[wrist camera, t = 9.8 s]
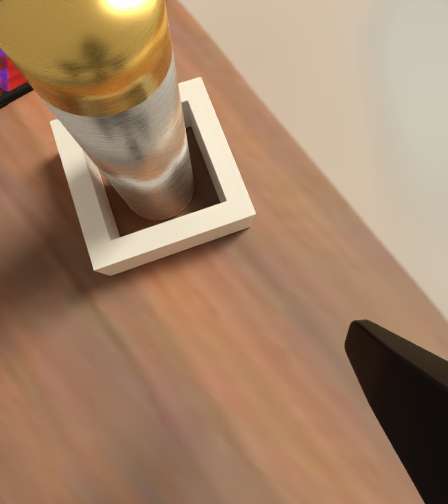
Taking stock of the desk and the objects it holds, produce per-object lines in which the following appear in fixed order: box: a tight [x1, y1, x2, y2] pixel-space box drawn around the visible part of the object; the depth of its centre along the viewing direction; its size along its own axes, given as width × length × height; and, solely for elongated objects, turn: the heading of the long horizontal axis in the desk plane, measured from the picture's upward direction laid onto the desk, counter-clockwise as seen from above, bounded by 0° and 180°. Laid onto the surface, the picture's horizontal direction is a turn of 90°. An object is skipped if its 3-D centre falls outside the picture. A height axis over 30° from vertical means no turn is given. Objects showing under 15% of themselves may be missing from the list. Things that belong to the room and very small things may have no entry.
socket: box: [50, 77, 256, 276], centre depth 18 cm, size 9×9×2 cm
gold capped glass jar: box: [0, 0, 194, 220], centre depth 13 cm, size 4×4×12 cm
